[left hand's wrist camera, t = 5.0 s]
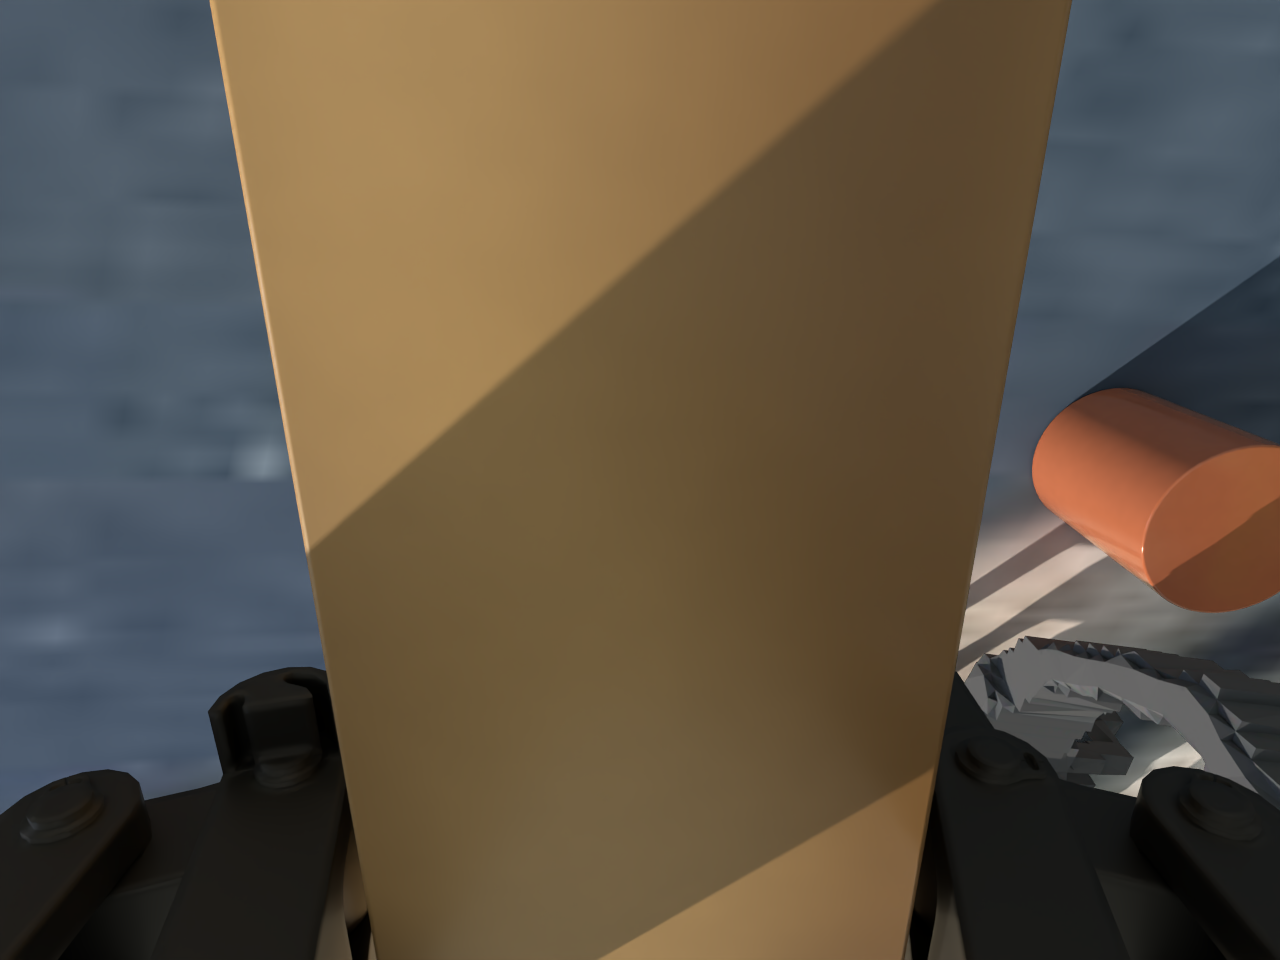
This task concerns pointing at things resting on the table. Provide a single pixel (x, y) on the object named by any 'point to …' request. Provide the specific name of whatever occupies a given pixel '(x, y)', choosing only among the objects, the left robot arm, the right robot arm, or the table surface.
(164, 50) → the table surface
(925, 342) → the oak bar
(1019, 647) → the toy
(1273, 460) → the orange glossy cylinder
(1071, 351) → the table surface
